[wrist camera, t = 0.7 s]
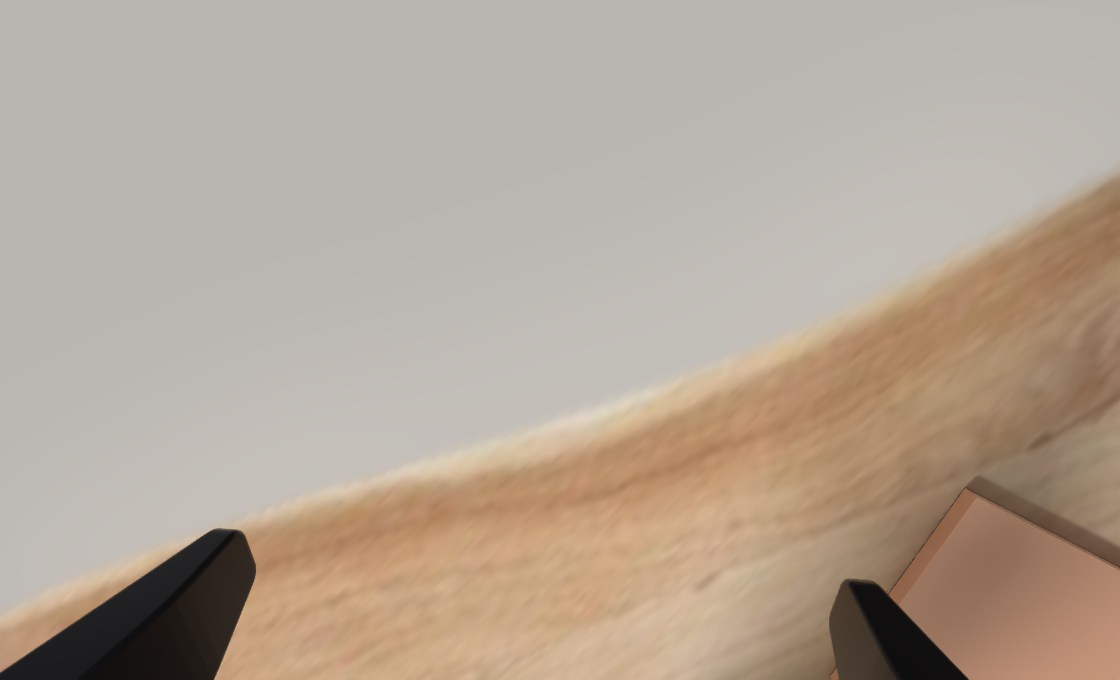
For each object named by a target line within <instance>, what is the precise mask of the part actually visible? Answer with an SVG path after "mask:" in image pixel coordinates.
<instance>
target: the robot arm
mask: <svg viewBox="0 0 1120 680" xmlns="http://www.w3.org/2000/svg"><path fill="white" fill-rule="evenodd" d="M255 575H256V564H255V561H254V558H253V556H252V553H251V550H250V547H249V545H248V542H247V539H246V536H245V534H244V533H243V532H242V531H240V530H235V529H222V528H218V529H214V530H211V531H209V532H208V533H206V534H205V535H203V536H202V537H200V538H199V539H197V540H196V541H194V542H193V543H191V544H190V545H188V546H187V547H185V548H184V549H182V550H181V551H179V552H178V553H176V554H175V555H173V556H172V557H171V558H169V559H168V560H166V561H165V562H163V563H162V564H160V565H159V566H157V567H156V568H154V569H153V570H151V571H150V572H148V573H147V574H145V575H144V576H142V577H141V578H139V579H138V580H136V581H135V582H133V583H132V584H131V585H129V586H128V587H126V588H125V589H123V590H122V591H120V592H119V593H117V594H116V595H114V596H113V597H111V598H110V599H108V600H107V601H105V602H104V603H102V604H101V605H99V606H98V607H96V608H95V609H93V610H92V611H91V612H89V613H88V614H86V615H85V616H83V617H82V618H80V619H79V620H77V621H76V622H74V623H73V624H71V625H70V626H68V627H67V628H65V629H64V630H62V631H61V632H59V633H58V634H56V635H55V636H53V637H52V638H51V639H49V640H48V641H46V642H45V643H43V644H42V645H40V646H39V647H37V648H36V649H34V650H33V651H31V652H30V653H28V654H27V655H25V656H24V657H22V658H21V659H19V660H18V661H16V662H15V663H13V664H12V665H11V666H9V667H8V668H6V669H5V670H3V671H2V672H0V680H214V679H215V676H216V674H217V672H218V669H219V667H220V665H221V662H222V660H223V657H224V655H225V652H226V650H227V647H228V645H229V642H230V640H231V637H232V635H233V632H234V630H235V627H236V625H237V622H238V620H239V617H240V615H241V612H242V610H243V607H244V605H245V602H246V600H247V597H248V595H249V592H250V590H251V587H252V585H253V582H254V579H255ZM829 628H830V635H831V640H832V646H833V651H834V657H835V662H836V667H837V673H838V678H839V680H969V679H968V678H967V676H966V675H965V674H964V673H963V672H962V671H961V670H960V669H959V668H958V667H957V666H956V665H955V664H954V663H953V662H952V661H951V660H950V659H949V658H948V657H947V656H946V655H945V653H944V652H943V651H942V650H941V649H940V648H939V647H938V646H937V645H936V644H935V643H934V642H933V641H932V640H931V639H930V638H929V637H928V636H927V635H926V634H925V633H924V632H923V630H922V629H921V628H920V627H919V626H918V625H917V624H916V623H915V622H914V621H913V620H912V619H911V618H910V617H909V616H908V615H907V614H906V613H905V612H904V611H903V610H902V608H901V607H900V606H899V605H898V604H897V603H896V602H895V601H894V600H893V599H892V598H891V597H890V596H889V595H888V594H887V593H886V592H885V591H884V590H883V589H882V588H881V587H880V586H879V585H878V584H877V583H875V582H873V581H870V580H859V579H846V580H844V581H843V582H842V584H841V586H840V588H839V591H838V594H837V596H836V599H835V602H834V604H833V607H832V610H831V612H830V617H829Z"/></svg>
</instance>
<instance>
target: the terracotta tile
mask: <svg viewBox="0 0 1120 680" xmlns="http://www.w3.org/2000/svg"><path fill="white" fill-rule="evenodd" d="M889 596H890V597H891V598H892V599H893V600H894V601H895V602H896V603H897V604H898V605H899V606H900V607H901V608H902V610H903V611H904V612H905V613H906V614H907V615H908V616H909V617H910V618H911V619H912V620H913V621H914V622H915V623H916V624H917V625H918V626H919V627H920V628H921V629H922V630H923V632H924V633H925V634H926V635H927V636H928V637H929V638H930V639H931V640H932V641H933V642H934V643H935V644H936V645H937V646H938V647H939V648H940V649H941V650H942V651H943V652H944V653H945V655H946V656H947V657H948V658H949V659H950V660H951V661H952V662H953V663H954V664H955V665H956V666H957V667H958V668H959V669H960V670H961V671H962V672H963V673H964V674H965V675H966V676H967V678H968V679H969V680H1120V567H1118V566H1116V565H1114V564H1112V563H1110V562H1108V561H1106V560H1104V559H1102V558H1100V557H1098V556H1096V555H1094V554H1092V553H1090V552H1089V551H1087V550H1085V549H1083V548H1081V547H1079V546H1077V545H1075V544H1073V543H1071V542H1069V541H1067V540H1065V539H1063V538H1061V537H1059V536H1057V535H1055V534H1053V533H1052V532H1050V531H1048V530H1046V529H1044V528H1042V527H1040V526H1038V525H1036V524H1034V523H1032V522H1030V521H1028V520H1026V519H1024V518H1022V517H1020V516H1018V515H1016V514H1014V513H1013V512H1011V511H1009V510H1007V509H1005V508H1003V507H1001V506H999V505H997V504H995V503H993V502H991V501H989V500H987V499H985V498H983V497H981V496H979V495H977V494H976V493H974V492H972V491H970V490H968V489H966V488H965V489H964V490H963V492H962V493H961V494H960V496H959V497H958V499H957V500H956V501H955V503H954V504H953V506H952V507H951V508H950V510H949V511H948V513H947V514H946V515H945V517H944V518H943V519H942V521H941V522H940V524H939V525H938V526H937V528H936V529H935V531H934V532H933V533H932V535H931V536H930V538H929V539H928V540H927V542H926V543H925V545H924V546H923V547H922V549H921V550H920V552H919V553H918V554H917V556H916V557H915V559H914V560H913V561H912V563H911V564H910V566H909V567H908V568H907V570H906V571H905V573H904V574H903V575H902V577H901V578H900V579H899V581H898V582H897V584H896V585H895V586H894V588H893V589H892V591H891V592H890V593H889ZM830 679H831V680H839V678H838V673H837V667H836V669H835V670H834V672H833V673H832V674H831V676H830Z"/></svg>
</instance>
